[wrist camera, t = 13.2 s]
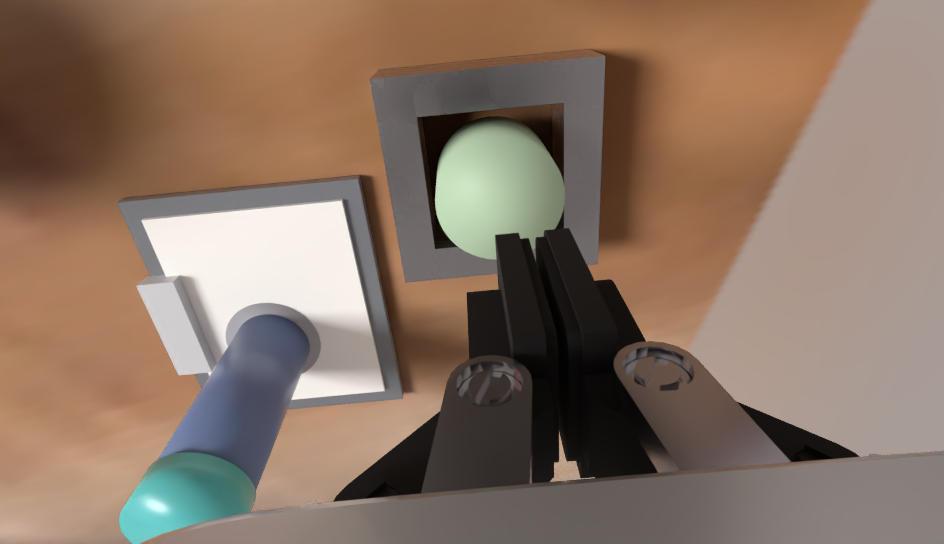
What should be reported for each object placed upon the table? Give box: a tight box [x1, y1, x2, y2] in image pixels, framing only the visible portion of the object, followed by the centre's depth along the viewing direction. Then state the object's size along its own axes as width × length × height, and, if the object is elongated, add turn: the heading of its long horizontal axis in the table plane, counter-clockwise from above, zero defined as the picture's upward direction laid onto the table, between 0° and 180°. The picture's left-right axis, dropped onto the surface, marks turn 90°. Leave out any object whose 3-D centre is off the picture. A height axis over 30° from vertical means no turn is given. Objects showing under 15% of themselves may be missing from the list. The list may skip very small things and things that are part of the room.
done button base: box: [370, 49, 605, 282], centre depth 20 cm, size 8×8×2 cm
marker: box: [119, 315, 310, 544], centre depth 20 cm, size 4×4×10 cm
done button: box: [435, 116, 565, 260], centre depth 18 cm, size 4×4×3 cm
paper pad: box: [117, 175, 404, 409], centre depth 24 cm, size 12×10×1 cm
